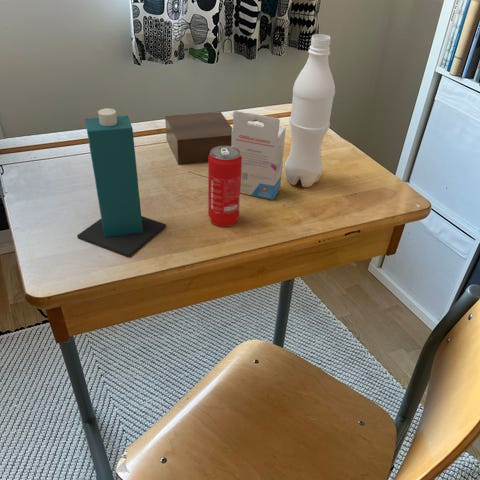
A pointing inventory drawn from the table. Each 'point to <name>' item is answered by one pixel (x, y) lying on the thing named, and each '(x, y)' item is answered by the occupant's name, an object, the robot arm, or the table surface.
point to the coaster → (122, 237)
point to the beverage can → (224, 185)
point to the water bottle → (310, 114)
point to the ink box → (259, 153)
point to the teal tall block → (115, 172)
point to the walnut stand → (196, 135)
